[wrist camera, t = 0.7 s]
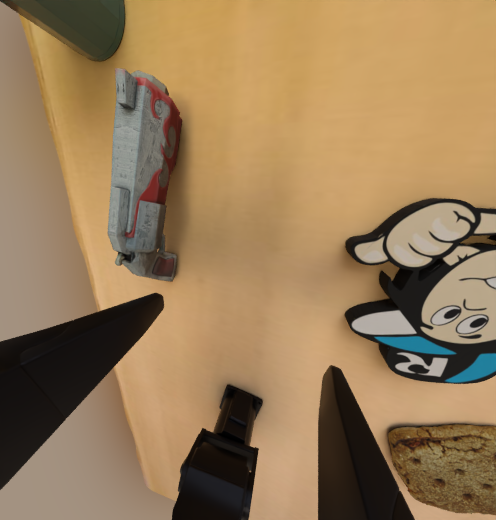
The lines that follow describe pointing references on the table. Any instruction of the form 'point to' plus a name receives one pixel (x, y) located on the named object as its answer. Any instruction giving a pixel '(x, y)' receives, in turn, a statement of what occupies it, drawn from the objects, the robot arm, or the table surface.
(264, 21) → the table surface
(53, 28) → the pen holder
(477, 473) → the pastry
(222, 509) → the robot arm
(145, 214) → the toy gun
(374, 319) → the toy
